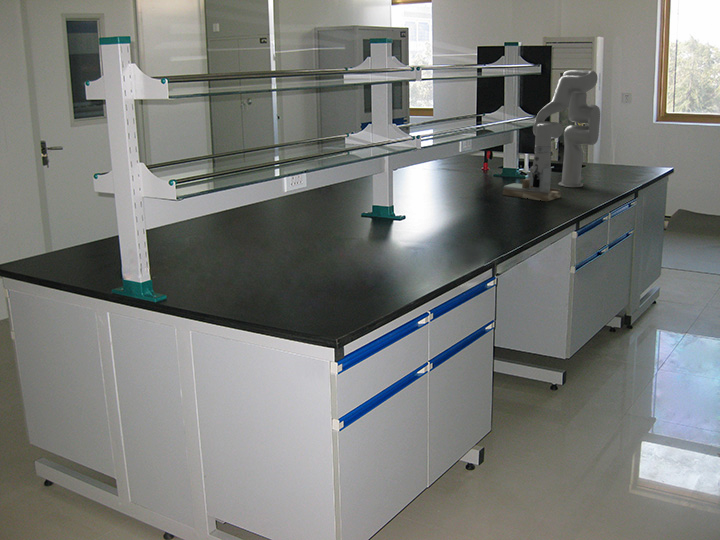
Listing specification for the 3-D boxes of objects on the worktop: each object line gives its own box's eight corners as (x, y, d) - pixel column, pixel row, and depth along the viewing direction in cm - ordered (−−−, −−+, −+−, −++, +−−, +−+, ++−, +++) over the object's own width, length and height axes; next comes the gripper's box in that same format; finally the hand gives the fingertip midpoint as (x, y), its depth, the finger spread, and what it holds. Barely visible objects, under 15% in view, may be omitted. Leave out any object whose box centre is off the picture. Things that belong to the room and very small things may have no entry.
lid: (513, 185, 384) (514, 175, 382) (535, 188, 376) (535, 178, 375) (503, 187, 377) (504, 177, 375) (524, 190, 369) (525, 180, 368)
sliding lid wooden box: (517, 190, 386) (517, 183, 384) (560, 197, 370) (561, 189, 369) (502, 194, 376) (503, 186, 374) (546, 201, 360) (547, 193, 359)
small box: (549, 193, 369) (551, 167, 365) (541, 195, 365) (543, 168, 361) (536, 191, 375) (538, 165, 371) (528, 192, 371) (530, 166, 367)
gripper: (540, 152, 355) (537, 189, 360) (558, 148, 368) (555, 184, 373) (526, 150, 360) (523, 187, 365) (544, 147, 372) (541, 182, 378)
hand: (539, 185), depth 369 cm, fingers closed on small box, 6 cm apart
